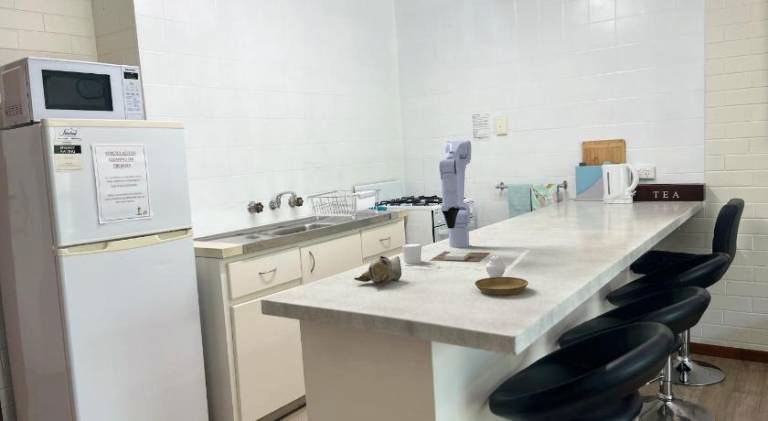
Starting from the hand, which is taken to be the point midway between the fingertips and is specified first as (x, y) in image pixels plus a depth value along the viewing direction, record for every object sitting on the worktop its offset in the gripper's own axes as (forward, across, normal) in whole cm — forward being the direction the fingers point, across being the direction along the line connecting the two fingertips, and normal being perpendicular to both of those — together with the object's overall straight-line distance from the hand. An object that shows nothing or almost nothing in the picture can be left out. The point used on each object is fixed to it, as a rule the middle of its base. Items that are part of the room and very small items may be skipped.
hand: (451, 228), depth 221 cm
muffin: (+11, +33, +24) cm, 42 cm away
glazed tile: (+9, +5, +5) cm, 11 cm away
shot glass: (+11, +18, -9) cm, 23 cm away
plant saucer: (+11, +48, +29) cm, 57 cm away
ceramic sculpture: (+11, +46, -8) cm, 48 cm away
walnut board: (+10, +6, +5) cm, 13 cm away
